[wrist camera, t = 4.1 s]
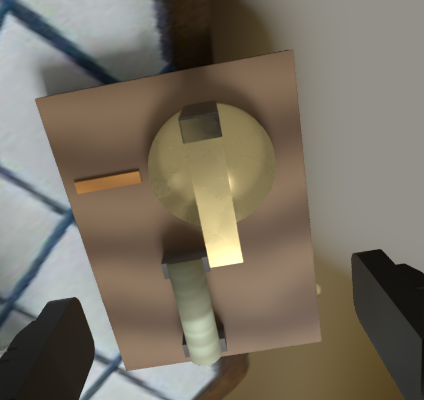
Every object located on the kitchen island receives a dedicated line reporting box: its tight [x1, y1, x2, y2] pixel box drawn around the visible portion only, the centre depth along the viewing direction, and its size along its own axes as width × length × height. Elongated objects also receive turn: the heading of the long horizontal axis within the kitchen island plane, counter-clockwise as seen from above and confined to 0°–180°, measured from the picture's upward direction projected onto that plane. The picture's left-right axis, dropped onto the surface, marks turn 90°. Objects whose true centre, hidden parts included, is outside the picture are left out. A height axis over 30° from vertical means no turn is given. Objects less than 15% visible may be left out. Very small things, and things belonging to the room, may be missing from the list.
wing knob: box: [148, 100, 276, 268], centre depth 22 cm, size 8×8×6 cm
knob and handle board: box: [35, 50, 321, 371], centre depth 26 cm, size 22×16×5 cm
